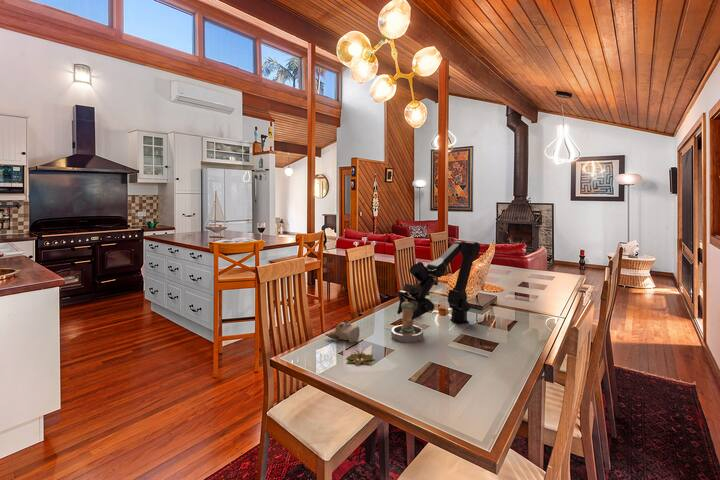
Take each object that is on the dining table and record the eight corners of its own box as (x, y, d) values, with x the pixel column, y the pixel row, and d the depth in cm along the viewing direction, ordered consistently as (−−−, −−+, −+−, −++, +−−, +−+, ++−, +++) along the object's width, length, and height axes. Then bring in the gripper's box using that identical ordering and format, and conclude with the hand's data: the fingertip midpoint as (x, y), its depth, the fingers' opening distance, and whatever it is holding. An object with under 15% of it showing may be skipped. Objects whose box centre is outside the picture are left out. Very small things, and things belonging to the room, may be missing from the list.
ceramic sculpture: (350, 326, 155) (323, 321, 164) (351, 347, 156) (324, 341, 165) (366, 319, 163) (339, 315, 173) (367, 339, 164) (340, 334, 173)
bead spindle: (416, 332, 168) (416, 301, 166) (413, 338, 162) (413, 305, 160) (402, 331, 170) (402, 300, 168) (398, 336, 164) (398, 304, 163)
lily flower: (341, 366, 140) (340, 354, 139) (347, 353, 151) (347, 342, 151) (373, 368, 138) (373, 356, 137) (377, 355, 149) (377, 343, 149)
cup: (420, 317, 192) (420, 301, 191) (406, 316, 193) (406, 301, 192) (421, 312, 199) (421, 297, 198) (407, 311, 201) (407, 297, 200)
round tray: (413, 329, 175) (413, 323, 174) (429, 339, 162) (429, 333, 162) (386, 333, 170) (386, 327, 170) (400, 344, 158) (400, 337, 157)
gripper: (400, 272, 173) (380, 301, 168) (429, 280, 158) (409, 311, 153) (413, 287, 178) (395, 314, 173) (442, 295, 163) (423, 326, 158)
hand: (404, 316), depth 164 cm, fingers open, 9 cm apart
